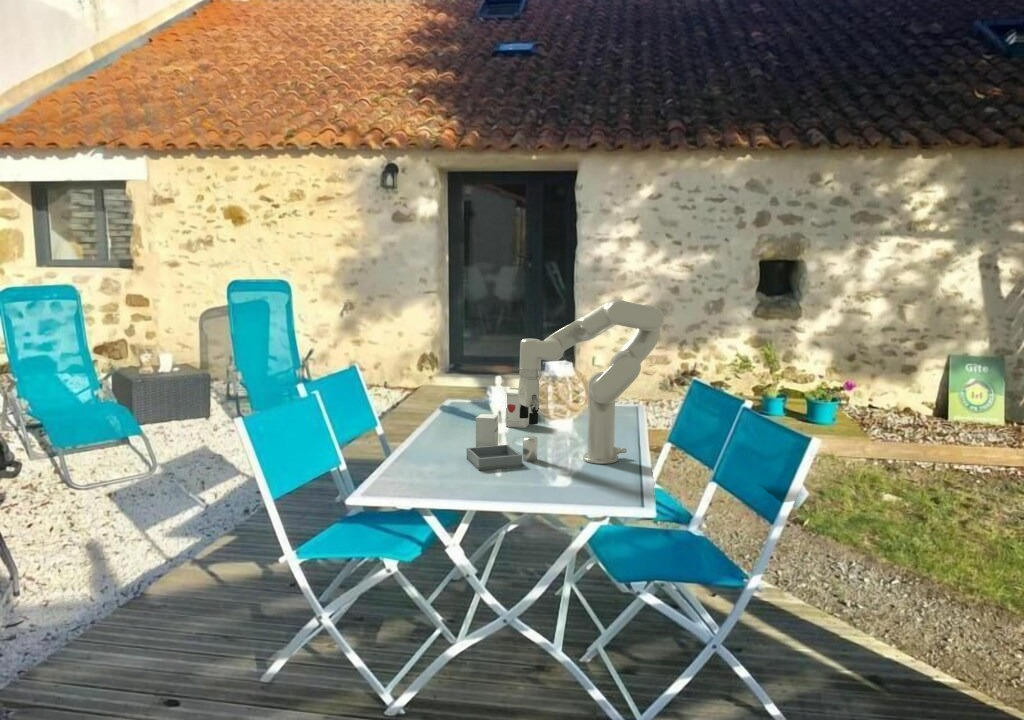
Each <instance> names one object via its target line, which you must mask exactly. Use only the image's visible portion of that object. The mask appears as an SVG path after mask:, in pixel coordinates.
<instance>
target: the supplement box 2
mask: <svg viewBox="0 0 1024 720" xmlns="http://www.w3.org/2000/svg"><path fill="white" fill-rule="evenodd" d="M506 394H507V408H506V407H505V427H506V426H508V427H507V428H521V429H525V428H527V427H528V426H529V425H530V424H529V413H530V409H529V410H528V418H520V403H519V402H518V389H514V388H510V389H509V390H508V391H506V392H505V395H506ZM528 407H529V406H528Z"/></svg>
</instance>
